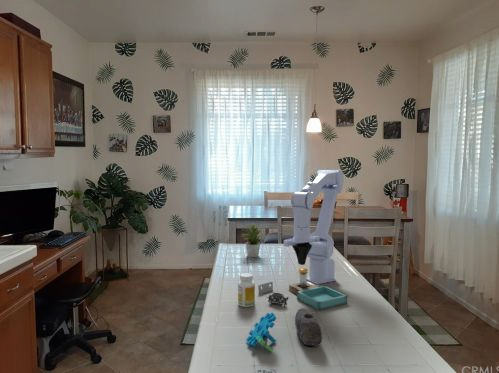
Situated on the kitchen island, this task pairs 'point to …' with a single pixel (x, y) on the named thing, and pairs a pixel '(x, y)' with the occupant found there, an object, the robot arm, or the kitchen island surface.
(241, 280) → the supplement bottle
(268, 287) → the bracket
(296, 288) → the socket
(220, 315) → the kitchen island surface
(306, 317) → the perforated stone tool
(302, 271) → the pin
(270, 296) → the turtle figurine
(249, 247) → the house plant
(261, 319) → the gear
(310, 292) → the tray
